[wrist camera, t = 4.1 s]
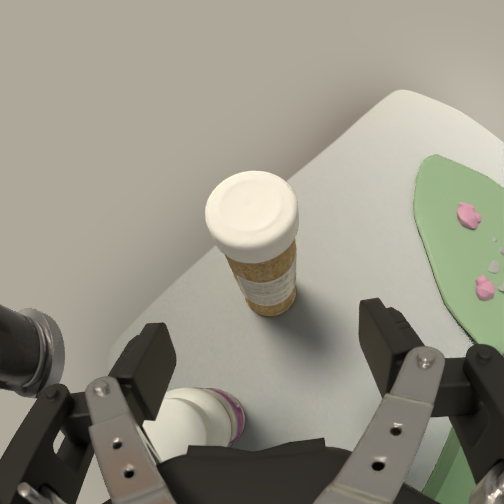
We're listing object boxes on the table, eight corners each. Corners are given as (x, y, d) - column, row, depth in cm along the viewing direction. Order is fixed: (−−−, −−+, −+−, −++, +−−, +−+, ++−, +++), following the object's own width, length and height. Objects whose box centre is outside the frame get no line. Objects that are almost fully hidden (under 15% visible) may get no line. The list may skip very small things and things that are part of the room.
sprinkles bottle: (251, 264, 27) (218, 164, 15) (301, 272, 26) (304, 171, 14) (239, 312, 26) (190, 238, 14) (291, 322, 25) (289, 254, 13)
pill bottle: (192, 451, 21) (139, 479, 12) (177, 394, 23) (117, 393, 14) (254, 441, 21) (230, 471, 12) (237, 381, 23) (204, 377, 14)
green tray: (479, 547, 10) (491, 555, 7) (385, 548, 14) (393, 561, 11) (535, 432, 15) (551, 432, 12) (455, 416, 18) (471, 418, 16)
